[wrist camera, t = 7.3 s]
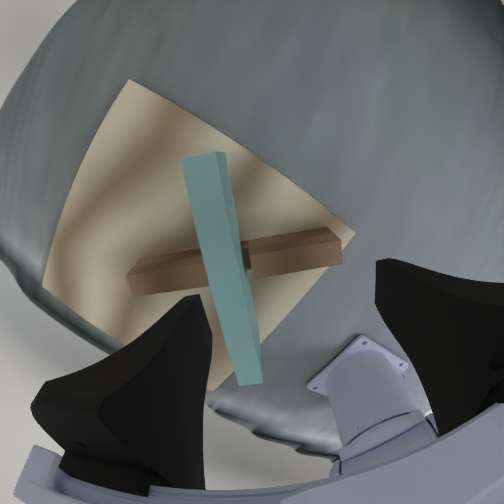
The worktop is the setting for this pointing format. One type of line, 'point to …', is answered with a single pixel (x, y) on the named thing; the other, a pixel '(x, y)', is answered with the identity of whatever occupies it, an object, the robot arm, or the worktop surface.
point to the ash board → (168, 221)
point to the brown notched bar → (254, 254)
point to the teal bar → (224, 260)
